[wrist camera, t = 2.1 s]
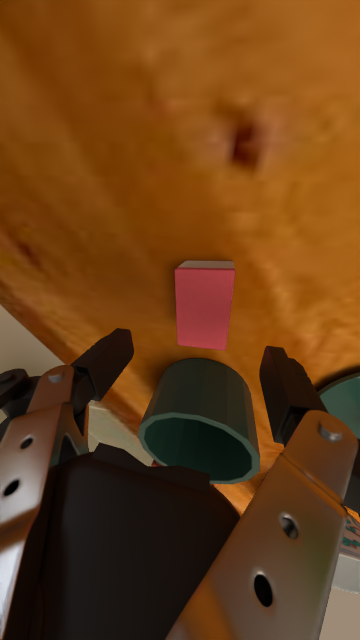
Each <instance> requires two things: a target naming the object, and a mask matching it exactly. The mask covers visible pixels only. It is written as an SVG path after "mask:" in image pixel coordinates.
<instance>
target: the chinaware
mask: <svg viewBox="0 0 360 640" xmlns="http://www.w3.org/2000/svg"><path fill="white" fill-rule="evenodd" d="M331 587H333V588H336V589H340V590H344V591H348V592H353V593H358V594H360V523H359V522H358V521H357V520H356V519H355V518H354V517H353V516H351V515H350V514H349V513H348V518H347V524H346V528H345V532H344V537H343V541H342V545H341V549H340V553H339V557H338V562H337V566H336V570H335V574H334V578H333V582H332V586H331Z"/></svg>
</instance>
